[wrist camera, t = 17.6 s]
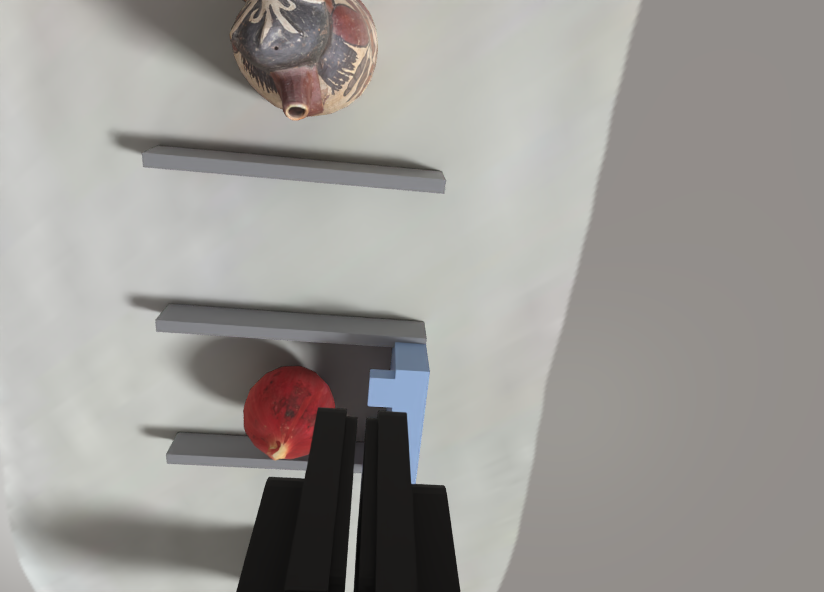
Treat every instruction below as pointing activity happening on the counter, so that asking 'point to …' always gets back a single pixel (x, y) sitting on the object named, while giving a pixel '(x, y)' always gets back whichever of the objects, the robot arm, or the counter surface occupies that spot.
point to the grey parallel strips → (274, 322)
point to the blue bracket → (404, 392)
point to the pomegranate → (285, 411)
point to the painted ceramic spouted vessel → (306, 53)
